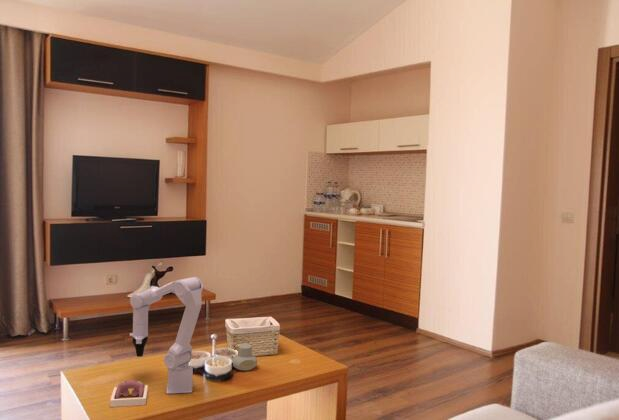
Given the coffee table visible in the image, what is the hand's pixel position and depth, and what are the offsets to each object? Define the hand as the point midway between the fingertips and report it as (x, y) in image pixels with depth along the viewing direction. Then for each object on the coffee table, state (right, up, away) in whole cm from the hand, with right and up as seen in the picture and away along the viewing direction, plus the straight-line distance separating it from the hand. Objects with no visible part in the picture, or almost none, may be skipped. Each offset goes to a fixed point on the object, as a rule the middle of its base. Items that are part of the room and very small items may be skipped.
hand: (139, 356), depth 211 cm
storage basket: (+41, -9, +38) cm, 57 cm away
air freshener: (+40, -10, +17) cm, 44 cm away
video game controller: (+2, -11, -17) cm, 20 cm away
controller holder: (+2, -11, -17) cm, 20 cm away
